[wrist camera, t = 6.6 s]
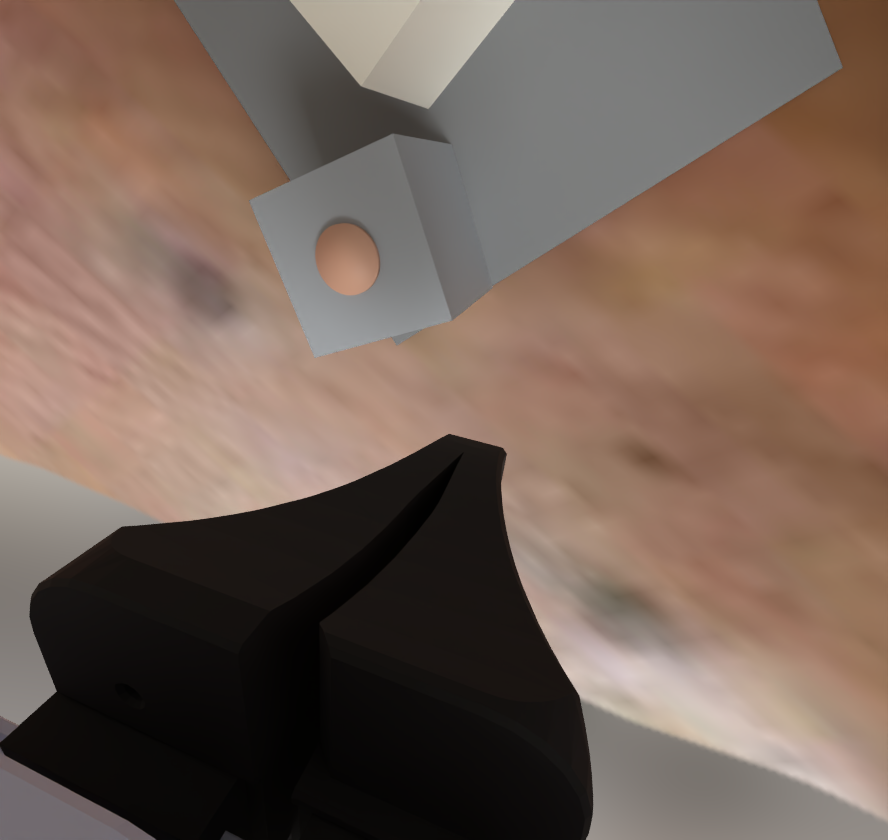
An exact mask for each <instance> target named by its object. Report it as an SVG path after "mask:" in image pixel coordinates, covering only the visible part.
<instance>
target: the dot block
mask: <svg viewBox="0 0 888 840" xmlns="http://www.w3.org/2000/svg"><path fill="white" fill-rule="evenodd" d="M249 202H250V204H251V207H252V209H253V211H254V214H255V216H256V219H257V221H258V223H259V226H260V228H261V231H262V233H263V235H264V238H265V240H266V243H267V245H268V247H269V250H270V252H271V254H272V257H273V259H274V262H275V264H276V266H277V269H278V271H279V274H280V276H281V278H282V281H283V283H284V285H285V288H286V290H287V293H288V295H289V297H290V300H291V302H292V305H293V307H294V309H295V312H296V314H297V317H298V319H299V321H300V324H301V326H302V328H303V331H304V333H305V336H306V338H307V340H308V343H309V345H310V348H311V350H312V352H313V355H314V357H315V358H316V357H320V356H323V355H327V354H331V353H334V352H338V351H342V350H346V349H349V348H353V347H357V346H360V345H364V344H368V343H371V342H375V341H379V340H382V339H386V338H390V337H393V336H397V335H401V334H404V333H408V332H412V331H415V330H419V329H423V328H426V327H430V326H434V325H437V324H441V323H445V322H448V321H452V320H453V319H455V318H456V317H457V316H458V315H460V314H461V313H462V312H463V311H465V310H466V309H467V308H468V307H469V306H471V305H472V304H473V303H474V302H476V301H477V300H478V299H479V298H481V297H482V296H483V295H484V294H486V293H487V292H488V291H489V290H490V289H492V288H493V287H492V284H491V280H490V277H489V273H488V270H487V266H486V263H485V259H484V256H483V252H482V249H481V245H480V242H479V238H478V235H477V231H476V228H475V224H474V221H473V217H472V214H471V210H470V207H469V203H468V200H467V196H466V193H465V189H464V186H463V182H462V179H461V175H460V172H459V168H458V165H457V161H456V158H455V154H454V151H453V147H452V144H447V143H442V142H436V141H431V140H425V139H420V138H414V137H409V136H403V135H398V134H391V135H389V136H387V137H384V138H382V139H380V140H378V141H376V142H374V143H372V144H369V145H367V146H365V147H363V148H361V149H359V150H356V151H354V152H352V153H350V154H348V155H346V156H344V157H341V158H339V159H337V160H335V161H333V162H331V163H329V164H326V165H324V166H322V167H320V168H318V169H316V170H313V171H311V172H309V173H307V174H305V175H303V176H301V177H298V178H296V179H294V180H292V181H290V182H288V183H286V184H283V185H281V186H279V187H277V188H275V189H273V190H270V191H268V192H266V193H264V194H262V195H260V196H258V197H255V198H253V199H251V200H249Z"/></svg>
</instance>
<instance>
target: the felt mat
mask: <svg viewBox="0 0 888 840" xmlns="http://www.w3.org/2000/svg"><path fill="white" fill-rule="evenodd" d="M174 1H175V3H176V4H177V6H178V7H179V9H180V10H181V12H182V14H183V15H184V17H185V18H186V20H187V21H188V23H189V24H190V26H191V27H192V29H193V31H194V32H195V34H196V35H197V37H198V38H199V40H200V41H201V43H202V44H203V46H204V48H205V49H206V51H207V52H208V54H209V55H210V57H211V58H212V60H213V62H214V63H215V65H216V66H217V68H218V69H219V71H220V72H221V74H222V75H223V77H224V79H225V80H226V82H227V83H228V85H229V86H230V88H231V89H232V91H233V92H234V94H235V96H236V97H237V99H238V100H239V102H240V103H241V105H242V106H243V108H244V109H245V111H246V113H247V114H248V116H249V117H250V119H251V120H252V122H253V123H254V125H255V127H256V128H257V130H258V131H259V133H260V134H261V136H262V137H263V139H264V140H265V142H266V144H267V145H268V147H269V148H270V150H271V151H272V153H273V154H274V156H275V157H276V159H277V161H278V162H279V164H280V165H281V167H282V168H283V170H284V171H285V173H286V175H287V176H288V178H289V179H290V181H292V180H294V179H296V178H298V177H301V176H303V175H305V174H307V173H309V172H311V171H313V170H316V169H318V168H320V167H322V166H324V165H326V164H329V163H331V162H333V161H335V160H337V159H339V158H341V157H344V156H346V155H348V154H350V153H352V152H354V151H356V150H359V149H361V148H363V147H365V146H367V145H369V144H372V143H374V142H376V141H378V140H380V139H382V138H384V137H387V136H389V135H391V134H398V135H403V136H409V137H414V138H420V139H425V140H431V141H436V142H442V143H447V144H452V147H453V151H454V154H455V158H456V161H457V165H458V168H459V172H460V175H461V179H462V182H463V186H464V189H465V193H466V196H467V200H468V203H469V207H470V210H471V214H472V217H473V221H474V224H475V228H476V231H477V235H478V238H479V242H480V245H481V249H482V252H483V256H484V259H485V263H486V266H487V270H488V273H489V277H490V280H491V284H492V286H493V285H495V284H496V283H498V282H499V281H501V280H503V279H504V278H506V277H507V276H509V275H511V274H512V273H514V272H516V271H517V270H519V269H520V268H522V267H524V266H525V265H527V264H528V263H530V262H532V261H533V260H535V259H536V258H538V257H540V256H541V255H543V254H544V253H546V252H548V251H549V250H551V249H552V248H554V247H556V246H557V245H559V244H560V243H562V242H564V241H565V240H567V239H568V238H570V237H572V236H573V235H575V234H577V233H578V232H580V231H581V230H583V229H585V228H586V227H588V226H589V225H591V224H593V223H594V222H596V221H597V220H599V219H601V218H602V217H604V216H605V215H607V214H609V213H610V212H612V211H613V210H615V209H617V208H618V207H620V206H621V205H623V204H625V203H626V202H628V201H629V200H631V199H633V198H634V197H636V196H638V195H639V194H641V193H642V192H644V191H646V190H647V189H649V188H650V187H652V186H654V185H655V184H657V183H658V182H660V181H662V180H663V179H665V178H666V177H668V176H670V175H671V174H673V173H674V172H676V171H678V170H679V169H681V168H682V167H684V166H686V165H687V164H689V163H690V162H692V161H694V160H695V159H697V158H699V157H700V156H702V155H703V154H705V153H707V152H708V151H710V150H711V149H713V148H715V147H716V146H718V145H719V144H721V143H723V142H724V141H726V140H727V139H729V138H731V137H732V136H734V135H735V134H737V133H739V132H740V131H742V130H743V129H745V128H747V127H748V126H750V125H751V124H753V123H755V122H756V121H758V120H760V119H761V118H763V117H764V116H766V115H768V114H769V113H771V112H772V111H774V110H776V109H777V108H779V107H780V106H782V105H784V104H785V103H787V102H788V101H790V100H792V99H793V98H795V97H796V96H798V95H800V94H801V93H803V92H804V91H806V90H808V89H809V88H811V87H812V86H814V85H816V84H817V83H819V82H821V81H822V80H824V79H825V78H827V77H829V76H830V75H832V74H833V73H835V72H837V71H838V70H840V69H841V68H843V67H842V64H841V61H840V59H839V56H838V54H837V51H836V48H835V46H834V43H833V41H832V38H831V36H830V33H829V30H828V28H827V25H826V23H825V20H824V17H823V15H822V12H821V10H820V7H819V5H818V2H817V0H515V1H514V2H513V3H512V4H511V6H510V7H509V8H508V10H507V11H506V12H505V13H504V15H503V16H502V17H501V18H500V20H499V21H498V22H497V23H496V25H495V26H494V27H493V28H492V30H491V31H490V32H489V33H488V35H487V36H486V37H485V39H484V40H483V41H482V42H481V44H480V45H479V46H478V47H477V49H476V50H475V51H474V52H473V54H472V55H471V56H470V57H469V59H468V60H467V61H466V62H465V64H464V65H463V66H462V68H461V69H460V70H459V71H458V73H457V74H456V75H455V76H454V78H453V79H452V80H451V81H450V83H449V84H448V85H447V86H446V88H445V89H444V90H443V91H442V93H441V94H440V95H439V96H438V98H437V99H436V100H435V102H434V103H433V104H432V105H431V107H430V108H429V109H427V108H424V107H421V106H418V105H415V104H412V103H409V102H406V101H403V100H400V99H397V98H394V97H391V96H388V95H385V94H382V93H379V92H376V91H374V90H371V89H368V88H365V87H362V86H360V85H359V83H358V82H357V81H356V80H355V79H354V77H353V76H352V75H351V74H350V72H349V71H348V70H347V69H346V68H345V66H344V65H343V64H342V63H341V62H340V60H339V59H338V58H337V57H336V56H335V54H334V53H333V52H332V51H331V50H330V48H329V47H328V46H327V45H326V44H325V42H324V41H323V40H322V39H321V38H320V36H319V35H318V34H317V33H316V32H315V30H314V29H313V28H312V27H311V25H310V24H309V23H308V22H307V21H306V19H305V18H304V17H303V16H302V15H301V13H300V12H299V11H298V10H297V9H296V7H295V6H294V5H293V4H292V3H291V1H290V0H174ZM423 329H424V328H423ZM421 330H422V329H419V330H415V331H412V332H408V333H404V334H401V335H397V336H393V337H392V339H393V340H394V342H395V343H396V345H398V344H400V343H402V342H403V341H405V340H406V339H408V338H410V337H411V336H413V335H414V334H416V333H418V332H419V331H421Z"/></svg>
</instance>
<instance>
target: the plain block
mask: <svg viewBox="0 0 888 840" xmlns="http://www.w3.org/2000/svg"><path fill="white" fill-rule="evenodd" d="M290 1H291V3H292V4H293V5H294V6H295V7H296V9H297V10H298V11H299V12H300V13H301V15H302V16H303V17H304V18H305V19H306V21H307V22H308V23H309V24H310V25H311V27H312V28H313V29H314V30H315V32H316V33H317V34H318V35H319V36H320V38H321V39H322V40H323V41H324V42H325V44H326V45H327V46H328V47H329V48H330V50H331V51H332V52H333V53H334V54H335V56H336V57H337V58H338V59H339V60H340V62H341V63H342V64H343V65H344V66H345V68H346V69H347V70H348V71H349V72H350V74H351V75H352V76H353V77H354V79H355V80H356V81H357V82H358V83H359V85H360V86H362V87H365V88H368V89H371V90H374V91H376V92H379V93H382V94H385V95H388V96H391V97H394V98H397V99H400V100H403V101H406V102H409V103H412V104H415V105H418V106H421V107H424V108H427V109H429V108H430V107H431V105H432V104H433V103H434V102H435V100H436V99H437V98H438V96H439V95H440V94H441V93H442V91H443V90H444V89H445V88H446V86H447V85H448V84H449V83H450V81H451V80H452V79H453V78H454V76H455V75H456V74H457V73H458V71H459V70H460V69H461V68H462V66H463V65H464V64H465V62H466V61H467V60H468V59H469V57H470V56H471V55H472V54H473V52H474V51H475V50H476V49H477V47H478V46H479V45H480V44H481V42H482V41H483V40H484V39H485V37H486V36H487V35H488V33H489V32H490V31H491V30H492V28H493V27H494V26H495V25H496V23H497V22H498V21H499V20H500V18H501V17H502V16H503V15H504V13H505V12H506V11H507V10H508V8H509V7H510V6H511V4H512V3H513V2H514V1H515V0H290Z"/></svg>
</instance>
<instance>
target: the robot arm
mask: <svg viewBox="0 0 888 840" xmlns="http://www.w3.org/2000/svg"><path fill="white" fill-rule="evenodd" d="M506 455H507V454H506V452H505V451H504V449H503V448H501V447H498V446H494V445H490V444H486V443H482V442H478V441H474V440H471V439H467V438H463V437H459V436H455V435H451V434H448V435H446V436H444V437H442V438H440V439H438V440H437V441H435V442H433V443H431V444H429V445H428V446H426V447H424V448H422V449H420V450H418V451H417V452H415V453H413V454H411V455H409V456H407V457H405V458H403V459H401V460H399V461H397V462H396V463H394V464H392V465H389V466H387V467H385V468H383V469H381V470H378V471H376V472H374V473H372V474H369V475H367V476H365V477H363V478H361V479H358V480H356V481H354V482H351V483H349V484H346V485H343V486H341V487H338V488H335V489H332V490H329V491H326V492H323V493H320V494H317V495H314V496H311V497H307V498H304V499H300V500H296V501H292V502H288V503H284V504H280V505H276V506H272V507H268V508H264V509H260V510H255V511H249V512H244V513H239V514H233V515H227V516H221V517H214V518H208V519H200V520H193V521H183V522H172V523H162V524H151V525H140V526H125V527H121V528H119V529H118V530H116V531H115V532H113V533H112V534H111V535H109V536H108V537H106V538H105V539H103V540H102V541H100V542H99V543H97V544H96V545H94V546H93V547H92V548H90V549H89V550H87V551H86V552H84V553H83V554H81V555H80V556H79V557H77V558H76V559H74V560H73V561H71V562H70V563H68V564H67V565H66V566H64V567H63V568H61V569H60V570H58V571H57V572H55V573H54V574H53V575H51V576H50V577H48V578H47V579H46V580H44V581H42V582H41V583H39V584H38V586H37V588H36V589H35V591H34V592H33V594H32V596H31V603H30V620H31V624H32V628H33V632H34V635H35V637H36V639H37V642H38V645H39V647H40V650H41V652H42V655H43V657H44V660H45V663H46V665H47V668H48V670H49V673H50V675H51V678H52V680H53V683H54V685H55V688H56V690H57V692H56V693H55V694H54V695H53V696H51V698H49V699H48V700H47V701H46V702H45V703H44V704H42V705H41V706H40V707H39V708H38V709H37V710H36V711H35V712H34V713H32V714H31V715H30V716H29V717H28V718H27V719H26V720H25V721H24V722H22V724H20V725H17V724H15V723H13V722H11V721H9V720H7V719H5V718H3V717H1V716H0V840H586V837H587V836H588V834H589V830H590V825H591V821H592V815H593V787H592V772H591V762H590V753H589V747H588V741H587V734H586V728H585V723H584V718H583V713H582V708H581V702H580V697H579V694H578V693H577V691H576V690H575V688H574V686H573V685H572V683H571V682H570V680H569V678H568V677H567V675H566V673H565V672H564V670H563V668H562V667H561V665H560V663H559V661H558V660H557V658H556V656H555V654H554V653H553V651H552V649H551V647H550V645H549V643H548V641H547V639H546V637H545V635H544V633H543V631H542V629H541V627H540V626H539V624H538V621H537V619H536V617H535V614H534V612H533V610H532V607H531V605H530V603H529V600H528V598H527V596H526V593H525V591H524V589H523V586H522V584H521V581H520V578H519V575H518V572H517V569H516V566H515V563H514V559H513V556H512V552H511V549H510V545H509V540H508V536H507V531H506V526H505V520H504V514H503V506H502V494H501V480H502V475H503V470H504V465H505V460H506Z"/></svg>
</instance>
